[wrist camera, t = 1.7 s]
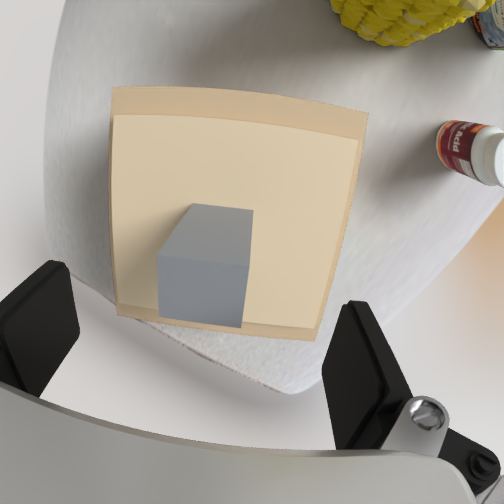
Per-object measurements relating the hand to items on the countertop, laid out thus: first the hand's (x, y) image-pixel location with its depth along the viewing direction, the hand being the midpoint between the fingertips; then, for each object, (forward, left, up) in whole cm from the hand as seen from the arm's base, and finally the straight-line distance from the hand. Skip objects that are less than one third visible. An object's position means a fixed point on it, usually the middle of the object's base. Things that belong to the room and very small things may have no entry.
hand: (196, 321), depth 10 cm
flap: (-1, 0, -7) cm, 7 cm away
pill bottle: (-8, +19, -18) cm, 27 cm away
